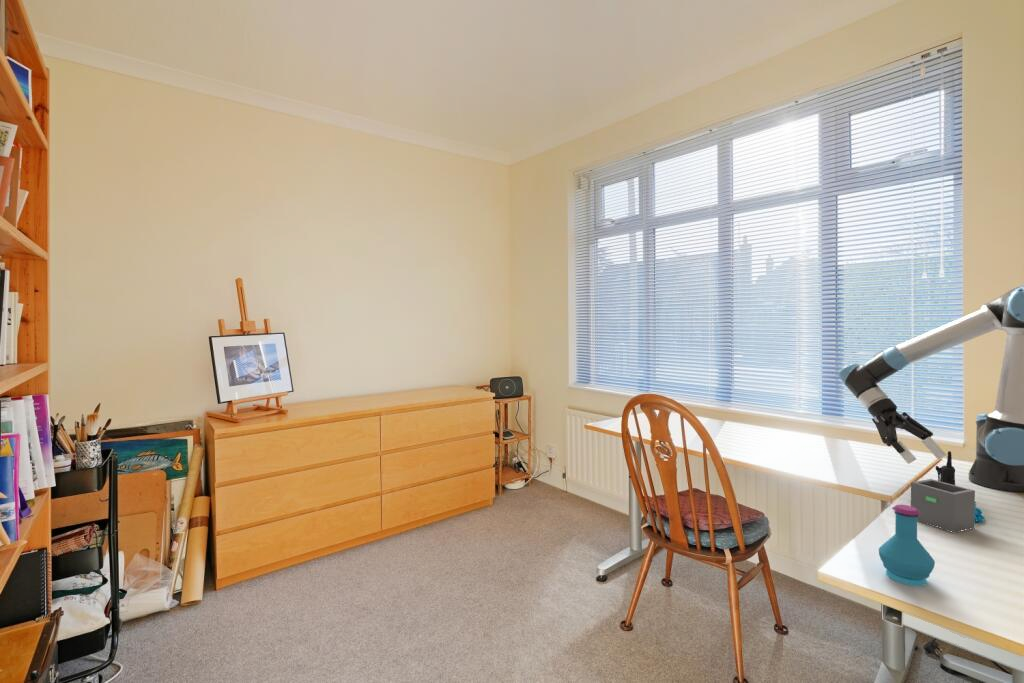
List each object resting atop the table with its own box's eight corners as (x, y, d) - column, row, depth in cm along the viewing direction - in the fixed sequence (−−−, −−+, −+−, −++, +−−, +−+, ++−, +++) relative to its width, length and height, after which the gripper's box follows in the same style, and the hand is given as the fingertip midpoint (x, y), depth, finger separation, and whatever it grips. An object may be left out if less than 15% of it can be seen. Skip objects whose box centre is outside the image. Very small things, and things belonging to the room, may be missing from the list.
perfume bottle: (939, 593, 95) (940, 519, 94) (881, 581, 100) (881, 510, 99) (929, 573, 102) (930, 504, 102) (875, 562, 107) (876, 496, 107)
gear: (976, 521, 124) (944, 486, 130) (955, 531, 128) (925, 497, 134) (995, 519, 129) (963, 485, 135) (973, 528, 132) (943, 495, 139)
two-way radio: (955, 503, 141) (956, 453, 140) (935, 499, 143) (936, 450, 143) (954, 497, 145) (955, 449, 144) (935, 494, 148) (935, 447, 147)
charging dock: (930, 514, 133) (930, 478, 133) (974, 528, 124) (974, 490, 123) (909, 518, 130) (910, 482, 130) (953, 533, 121) (953, 494, 121)
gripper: (895, 407, 168) (944, 461, 154) (843, 412, 160) (890, 469, 146) (912, 394, 163) (964, 448, 149) (859, 399, 155) (909, 457, 141)
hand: (927, 459), depth 148 cm, fingers open, 13 cm apart
